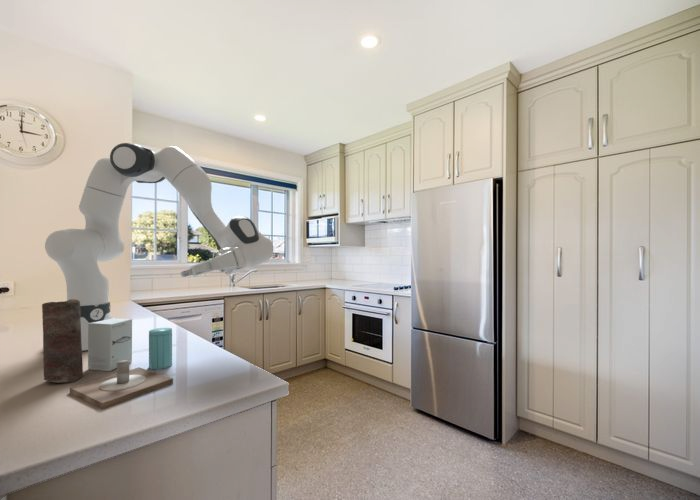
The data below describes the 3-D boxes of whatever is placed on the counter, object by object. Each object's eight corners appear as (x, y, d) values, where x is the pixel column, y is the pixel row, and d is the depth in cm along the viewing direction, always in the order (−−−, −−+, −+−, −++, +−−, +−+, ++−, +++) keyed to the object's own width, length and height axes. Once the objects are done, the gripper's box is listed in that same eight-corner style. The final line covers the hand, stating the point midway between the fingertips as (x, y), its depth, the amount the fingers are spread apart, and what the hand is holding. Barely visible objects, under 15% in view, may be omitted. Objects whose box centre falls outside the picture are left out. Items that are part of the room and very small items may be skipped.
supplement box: (109, 371, 89) (109, 324, 89) (86, 369, 90) (86, 323, 90) (133, 362, 96) (133, 318, 96) (111, 360, 98) (111, 317, 98)
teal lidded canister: (144, 367, 92) (144, 331, 92) (164, 361, 97) (164, 326, 97) (156, 370, 89) (156, 333, 89) (176, 364, 94) (176, 329, 94)
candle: (37, 388, 78) (37, 303, 78) (48, 377, 85) (48, 298, 85) (78, 382, 82) (78, 300, 82) (86, 372, 88) (85, 296, 88)
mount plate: (69, 392, 76) (69, 365, 76) (139, 371, 89) (139, 348, 89) (102, 408, 68) (102, 378, 68) (172, 383, 81) (172, 357, 81)
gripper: (213, 255, 117) (172, 267, 107) (240, 245, 102) (195, 257, 92) (219, 273, 117) (179, 286, 107) (246, 265, 103) (203, 279, 93)
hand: (186, 272), depth 100 cm, fingers open, 8 cm apart
